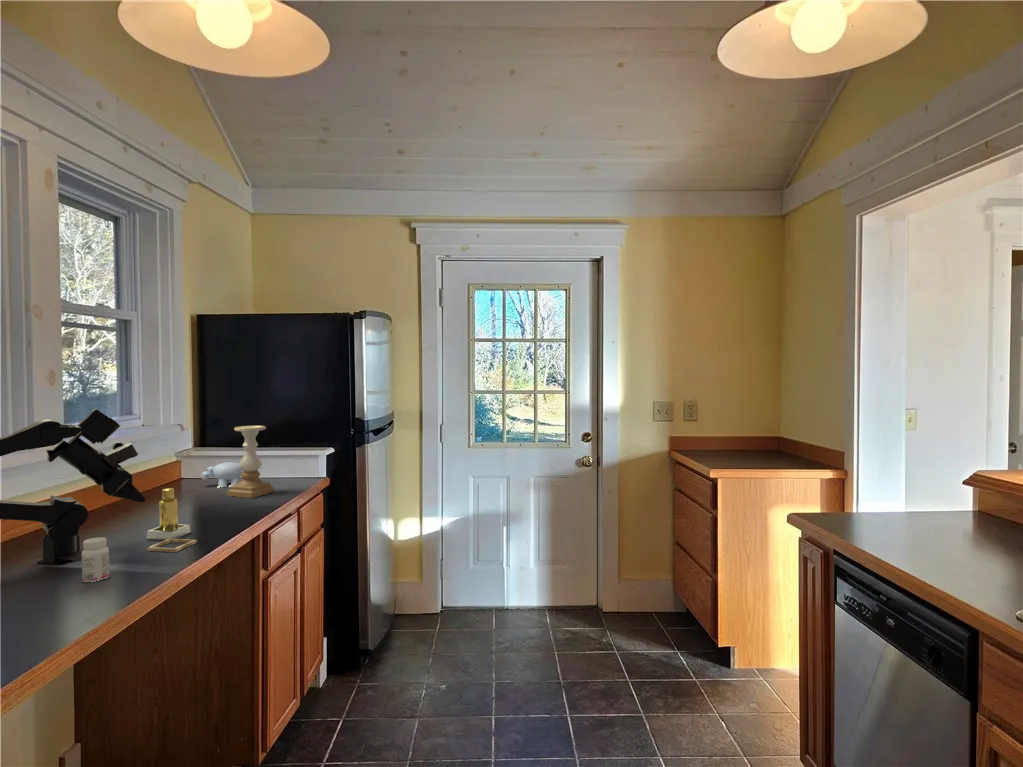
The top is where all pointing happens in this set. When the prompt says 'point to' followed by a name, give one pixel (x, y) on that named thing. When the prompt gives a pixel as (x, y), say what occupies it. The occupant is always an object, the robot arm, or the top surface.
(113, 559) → the top surface
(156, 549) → the tan flat square frame
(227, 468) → the hippopotamus toy
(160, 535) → the socket
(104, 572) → the pill bottle
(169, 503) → the gold bottle
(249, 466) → the candle holder
